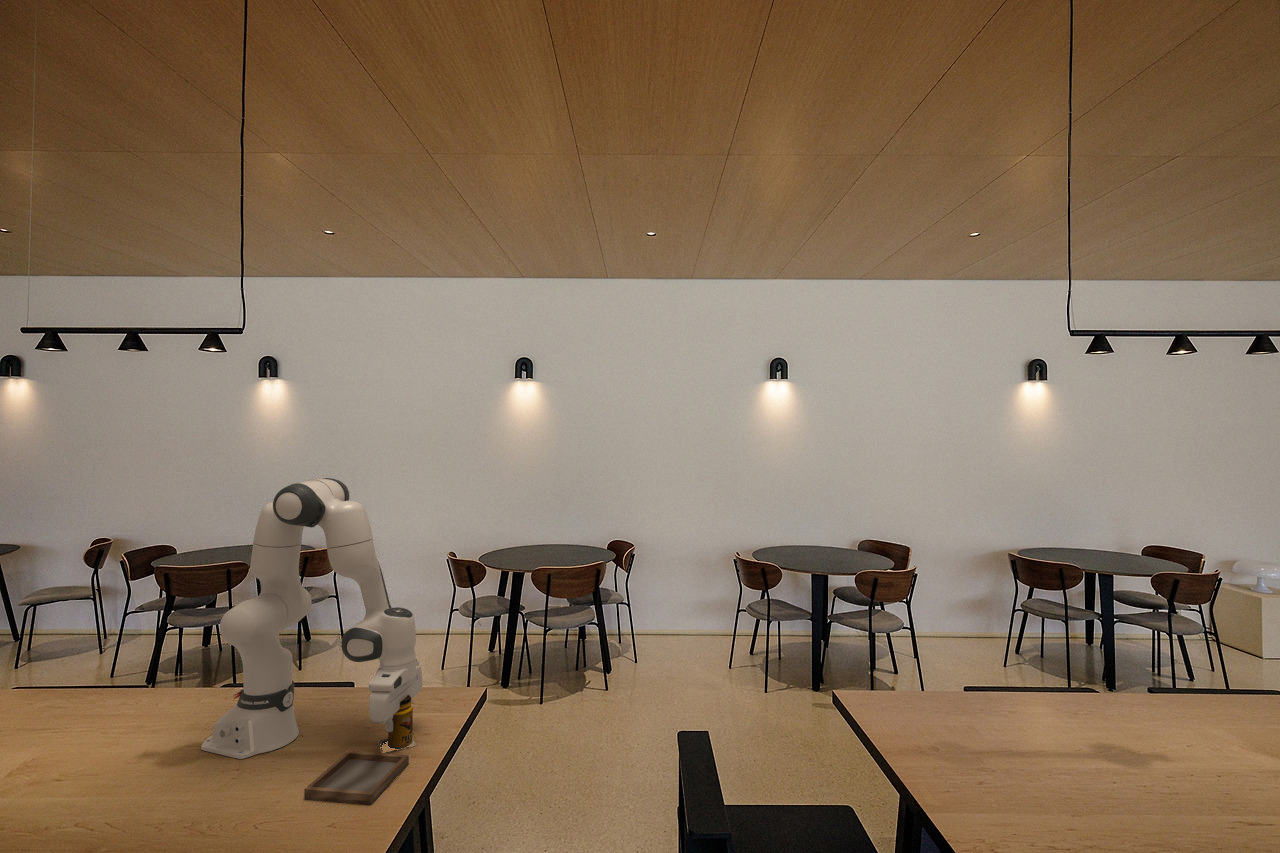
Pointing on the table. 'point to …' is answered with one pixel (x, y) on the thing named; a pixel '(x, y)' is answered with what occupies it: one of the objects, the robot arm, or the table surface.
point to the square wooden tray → (357, 778)
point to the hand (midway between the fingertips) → (398, 723)
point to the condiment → (401, 727)
